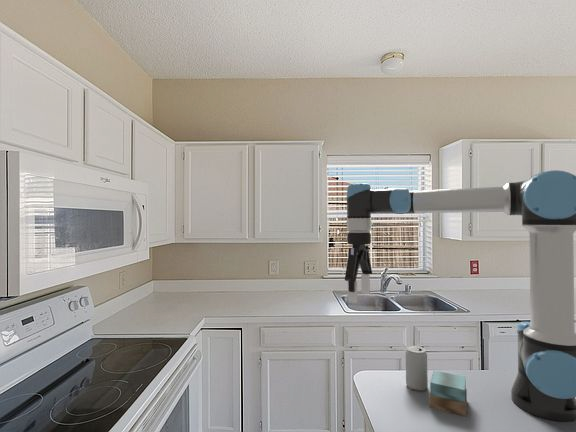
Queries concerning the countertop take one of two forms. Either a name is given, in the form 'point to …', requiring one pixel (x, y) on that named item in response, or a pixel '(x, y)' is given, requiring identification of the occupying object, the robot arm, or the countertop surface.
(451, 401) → the teal and brown block
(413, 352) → the beverage can
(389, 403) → the countertop surface
